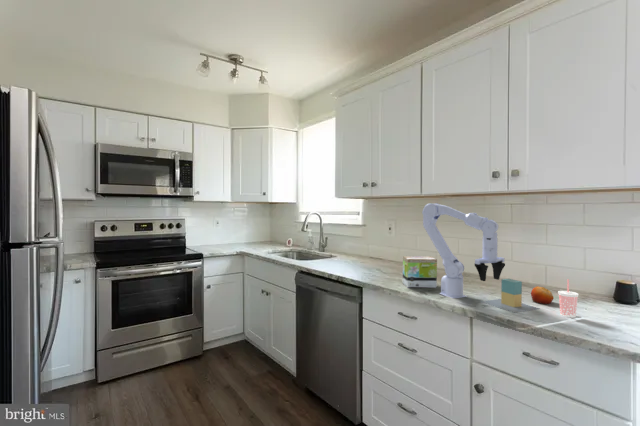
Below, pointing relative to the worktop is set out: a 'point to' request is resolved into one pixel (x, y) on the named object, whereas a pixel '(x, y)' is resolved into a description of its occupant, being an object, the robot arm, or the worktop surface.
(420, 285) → the tea box
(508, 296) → the mustard brick
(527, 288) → the worktop surface
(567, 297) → the beverage cup
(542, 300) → the fruit
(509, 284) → the teal brick
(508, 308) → the baseplate
